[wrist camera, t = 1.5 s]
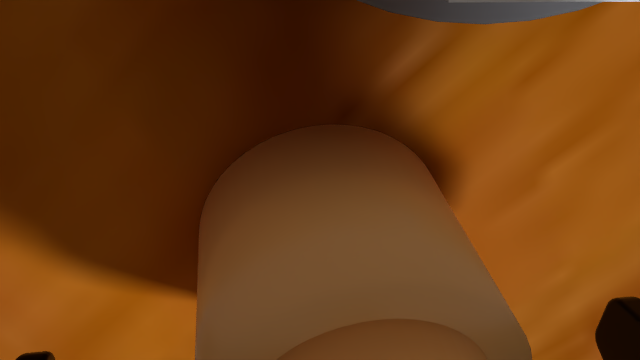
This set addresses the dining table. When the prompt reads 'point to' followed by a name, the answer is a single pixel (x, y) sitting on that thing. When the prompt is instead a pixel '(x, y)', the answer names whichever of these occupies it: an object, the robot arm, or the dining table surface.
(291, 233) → the beige tiered cylinder
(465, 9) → the grey shallow dish
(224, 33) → the dining table surface
